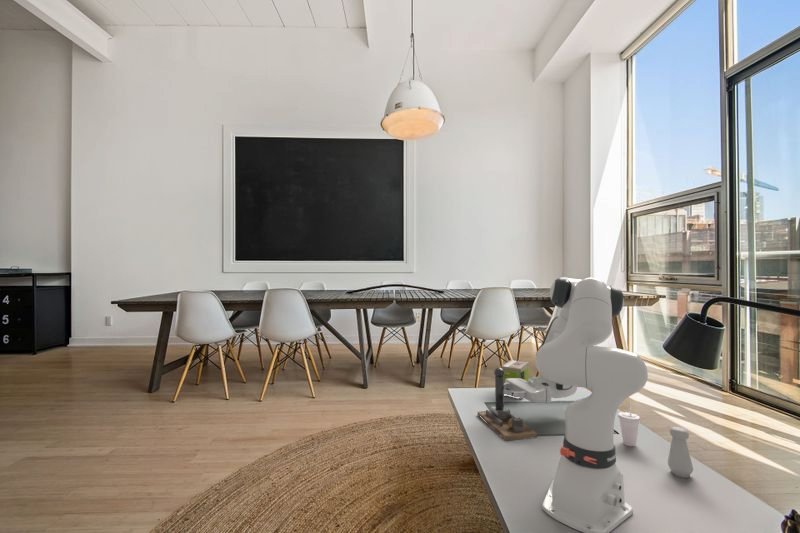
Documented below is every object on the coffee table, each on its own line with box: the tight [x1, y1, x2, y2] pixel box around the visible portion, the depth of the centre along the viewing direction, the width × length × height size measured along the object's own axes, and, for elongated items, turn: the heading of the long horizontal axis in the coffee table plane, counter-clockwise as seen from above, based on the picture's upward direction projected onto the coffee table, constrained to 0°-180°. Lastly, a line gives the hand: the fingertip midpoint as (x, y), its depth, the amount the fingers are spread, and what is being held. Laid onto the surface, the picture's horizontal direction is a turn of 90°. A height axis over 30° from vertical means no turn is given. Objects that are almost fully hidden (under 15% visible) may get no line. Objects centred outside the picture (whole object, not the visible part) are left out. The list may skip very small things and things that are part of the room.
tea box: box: [500, 359, 531, 398], centre depth 172 cm, size 15×10×15 cm, turn 144°
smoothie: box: [617, 402, 641, 447], centre depth 120 cm, size 6×6×14 cm
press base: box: [477, 409, 538, 442], centre depth 135 cm, size 23×12×6 cm, turn 13°
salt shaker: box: [667, 426, 694, 479], centre depth 102 cm, size 6×6×13 cm
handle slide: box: [490, 367, 511, 421], centre depth 139 cm, size 6×5×19 cm
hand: (506, 390), depth 140 cm, fingers open, 8 cm apart
